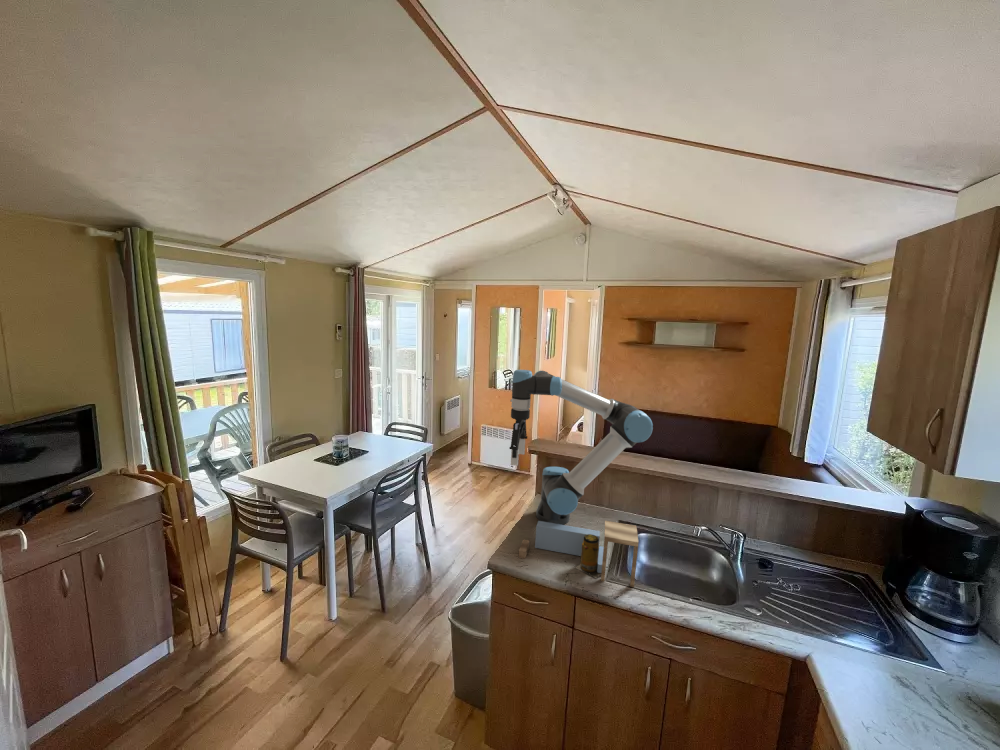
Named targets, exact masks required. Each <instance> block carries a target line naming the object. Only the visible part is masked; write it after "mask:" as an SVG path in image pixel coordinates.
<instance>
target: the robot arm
mask: <svg viewBox="0 0 1000 750" xmlns="http://www.w3.org/2000/svg"><path fill="white" fill-rule="evenodd" d="M511 381H512V383H511V384H512V385H511V399H510V402H511V406H510V407H511V409H510V418H511V419H512V420H513V419H514V420H515V422H514V423H513V424H512V435H511V441H510V446H509V450H511V451H510V452H511V454H510V456H511V457H510V466H517V467H518V466H519V455H525V453H526V451H525V449H526V439H527V440H528V436H527V420H529V419H530V417H531V416H530V415H531V414H530V413H531V410H530V409H531V399H532V397H531V396H532V395H535V396H536V395H537V396H557V397H558V398H560V399H562V400H565V401H568V402H570V403H572V404H574V405H577V406H579V407H581V408H583V409H586V410H588V411H590V412H593V413H594V414H597V415H600V416H601V417H602V419H603V420H606V421H607V422H609V423H610V424H611V426H609V427H610V429H609V432H608V434H607V435H606V436H605V437H604V438H603V439H602V440H600V442H599V443H598V444H597V445H596V446H595V447H594V448H592V450H590V452H588V454H587V455H586V456H584V457H583V459H581V460H580V461H579V463H578V464H576V465H575V466H574V468H572V469H571V470H570V471H569V469H567V468H565V467H563V466H561V467H560V466H546V467H543V470H542V474H541V475H542V479H541V480H542V481H541V495H540V501H539V502H538V506H537V508H536V510H535V511H536V513H535V514H536V515H535V517H536V519H537V520H538V521H543V522H549V523H555V524H561V525H565V524H567V523H569V522H570V519H571V513H573V512H574V511H575V510H576V509H577V507H578V504H579V499H581V498H582V497H583V496H584V495H585V489H586V487H587V486H588V485H589V484H590V483H591V482H592V481H594V479H595V478H597V477H598V475H600V474H601V473H602V472H603V471H604V469H606V468H607V467H608V466H609V465H610V464H611V463H612V462H613V461H614V460H615V459H616V458H617V457H618V456H619V455H621V453H622V452H623V451H624V450H625V449H630V448H633V447H634V446H635V445H636V444H637V443H643V442H645V441H647V440H648V439H649V438H650V437H651V435H652V433H653V429H654V427H653V426H654V424H653V421H652V419H651V417H649V415H647V413H645V412H644V411H642V410H640V409H638V408H637V407H636V406H634V405H632V404H628V403H625V402H622V401H619V400H616V399H614V398H609V399H608V398H606V397H603V396H601V395H598V394H597V393H594V392H593V391H590V390H587V389H585V388H583V387H581V386H578V385H576V384H574V383H572V382H569V381H567V380H564V379H563V378H561V377H560V376H555V375H553V374H551V373H549V372H547V371H545V370H538V371H536V372H535V373H534V374H533V372H532V370H529V369H516V370H514V371H513V374H512V380H511Z"/></svg>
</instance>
